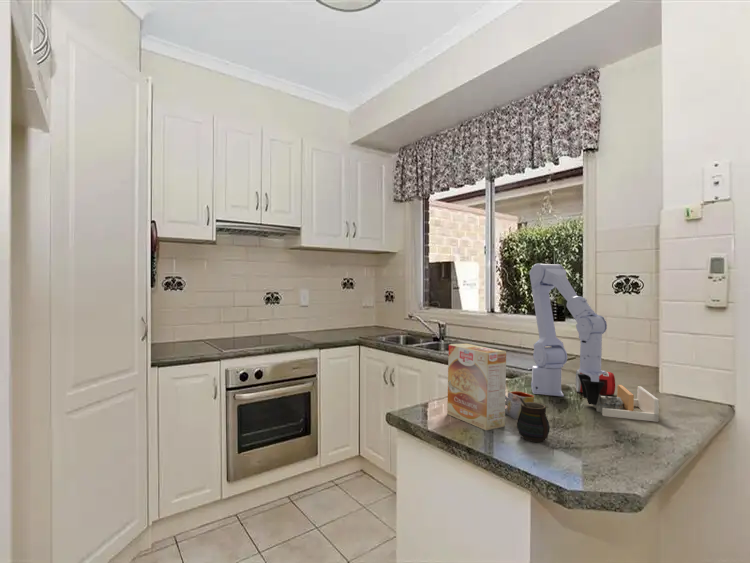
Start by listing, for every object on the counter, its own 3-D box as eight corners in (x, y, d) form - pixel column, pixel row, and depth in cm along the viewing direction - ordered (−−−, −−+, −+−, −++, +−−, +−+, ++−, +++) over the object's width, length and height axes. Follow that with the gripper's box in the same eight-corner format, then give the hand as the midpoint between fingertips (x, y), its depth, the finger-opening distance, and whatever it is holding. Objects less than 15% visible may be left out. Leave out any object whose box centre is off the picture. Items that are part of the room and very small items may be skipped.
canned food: (609, 374, 146) (575, 371, 149) (614, 370, 139) (578, 367, 142) (611, 397, 143) (575, 393, 147) (616, 393, 136) (578, 390, 140)
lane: (602, 415, 118) (603, 394, 118) (592, 401, 132) (592, 382, 132) (658, 421, 113) (658, 399, 114) (640, 406, 128) (641, 386, 128)
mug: (538, 417, 115) (538, 393, 115) (530, 423, 110) (531, 398, 110) (496, 409, 122) (496, 386, 123) (486, 414, 117) (487, 390, 117)
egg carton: (591, 403, 131) (591, 390, 131) (619, 406, 128) (619, 393, 128) (594, 412, 121) (595, 398, 121) (624, 416, 118) (625, 401, 118)
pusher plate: (628, 416, 117) (628, 394, 117) (617, 404, 129) (617, 384, 129) (633, 416, 117) (633, 395, 117) (621, 404, 129) (621, 385, 129)
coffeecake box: (446, 414, 116) (447, 344, 116) (465, 410, 120) (466, 342, 120) (485, 431, 103) (487, 352, 103) (506, 426, 107) (507, 350, 107)
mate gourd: (556, 441, 97) (557, 398, 97) (535, 447, 94) (535, 402, 94) (530, 431, 104) (531, 391, 104) (509, 436, 100) (510, 394, 100)
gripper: (611, 360, 118) (610, 409, 117) (600, 352, 131) (599, 396, 131) (583, 358, 120) (582, 406, 120) (575, 351, 133) (575, 393, 133)
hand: (589, 400), depth 126 cm, fingers open, 7 cm apart
